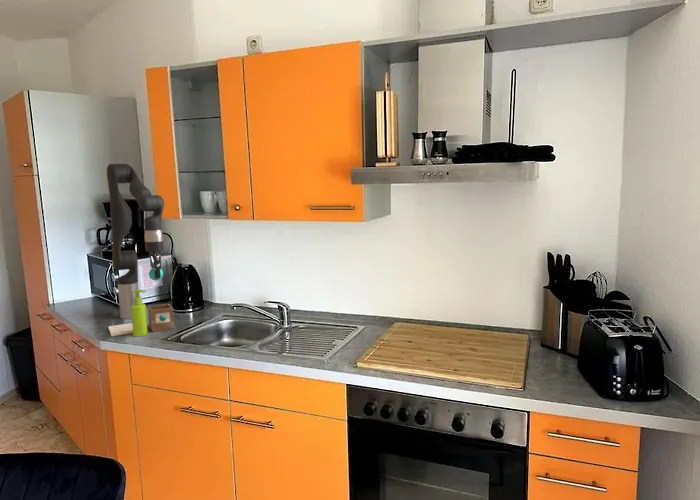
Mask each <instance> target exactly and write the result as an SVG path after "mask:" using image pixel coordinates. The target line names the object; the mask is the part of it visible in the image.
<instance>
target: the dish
mask: <svg viewBox="0 0 700 500" xmlns="http://www.w3.org/2000/svg"><path fill="white" fill-rule="evenodd" d="M108 330H109V331H108V332H109V334H110V336H111V337H114V336H122V335H129V334H133V326H132V322H130V323H124V324H117V325H116V324H115V325H109V326H108Z"/></svg>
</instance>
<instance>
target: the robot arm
mask: <svg viewBox="0 0 700 500" xmlns="http://www.w3.org/2000/svg"><path fill="white" fill-rule="evenodd" d="M106 179H107V186H108V192H109V204H110V207H109V208H110V225H111V236H112V245H111V246H112V248H111V249H112V254H111V255H112V256H111V257H112V258H111V259H112V266H113V269H114V270H115V271H124V270H128V271H127V272H126V273H125V274H123V275H121V276H119V277H118V278H117V289H118V290H117V291H118V302H119V303H118V304H119V316H120V319H123V320H124V319H125V320H132V313H131V306H132V305H134V297H136V295H135V292H133V291H134V290H140V289H139V273H138V272H139V271H138V269H139V268H138V262H139V261H138V254H137V252H136V251H135V250H133V249H132V250H131V249H130V250H122V244H123V242H124V240H125V238H126V236H127V234H128V233H129V231H130V230H131V228H132V225H133V216H132V215H133V214H132V209H131V207H130V206H129V204H128V203H127V202H126V201H125V199H124V197H122V194H121V193H120V189H119V184H129V188H128V190H129V193H130V195H131V196H132V197H133V198H134V199H135V200H136V202H137V204H138V208H139V210H141V211H142V212H153V213H152V215H149V216H147V217H145V218H144V220H143V225H144V227H143V228H144V245H145V246H144V247H145V248H144V249H145V252H147V253H148V252H150V253H149V262H150V268H151V269H152V268H154V270H155V278H156V279H158V278H161V275H160V270H162V256H161V254H160V252H161V251H164V239H163V238H164V235H163V230H162V217H163V212H164V208H165V201H164V198H163V197H162V196H161V195H159V194H158V195H157V194H156V195H155V194H154V195H153V194H152V192H151V190H150V189H149V188H147V186H145V184H144V183H143V182H142V181H141V179H140V177H139V176H138V174H137V173H136V171H135V169H134V168H133V167H132V165H131V164H128V163H110V164H108V165H107V167H106ZM161 279H162V278H161Z"/></svg>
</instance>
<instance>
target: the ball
mask: <svg viewBox="0 0 700 500" xmlns="http://www.w3.org/2000/svg"><path fill="white" fill-rule="evenodd" d="M160 275H161V278H158V279H156V278H155V270H154V268H151V269H150V270H149V271H148V277H149V278H150V279H151V280H152V281H156V282H157V281H160V280H161V279H163V276H164V271H163V269H161V270H160Z"/></svg>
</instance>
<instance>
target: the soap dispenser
mask: <svg viewBox="0 0 700 500" xmlns="http://www.w3.org/2000/svg"><path fill="white" fill-rule="evenodd" d="M133 292H135V295H136V297H134V305H132V306H131V313H132V318H131V323H132V326H133V333H132V336H133V337H143V336H147V335H148V320H147V319H148V318H147V308H146V307H147V306H146V304H145V303H143V297H142V296H141V295H140V293H146V292H147V290H145V289H139V290H134V291H133Z"/></svg>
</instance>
